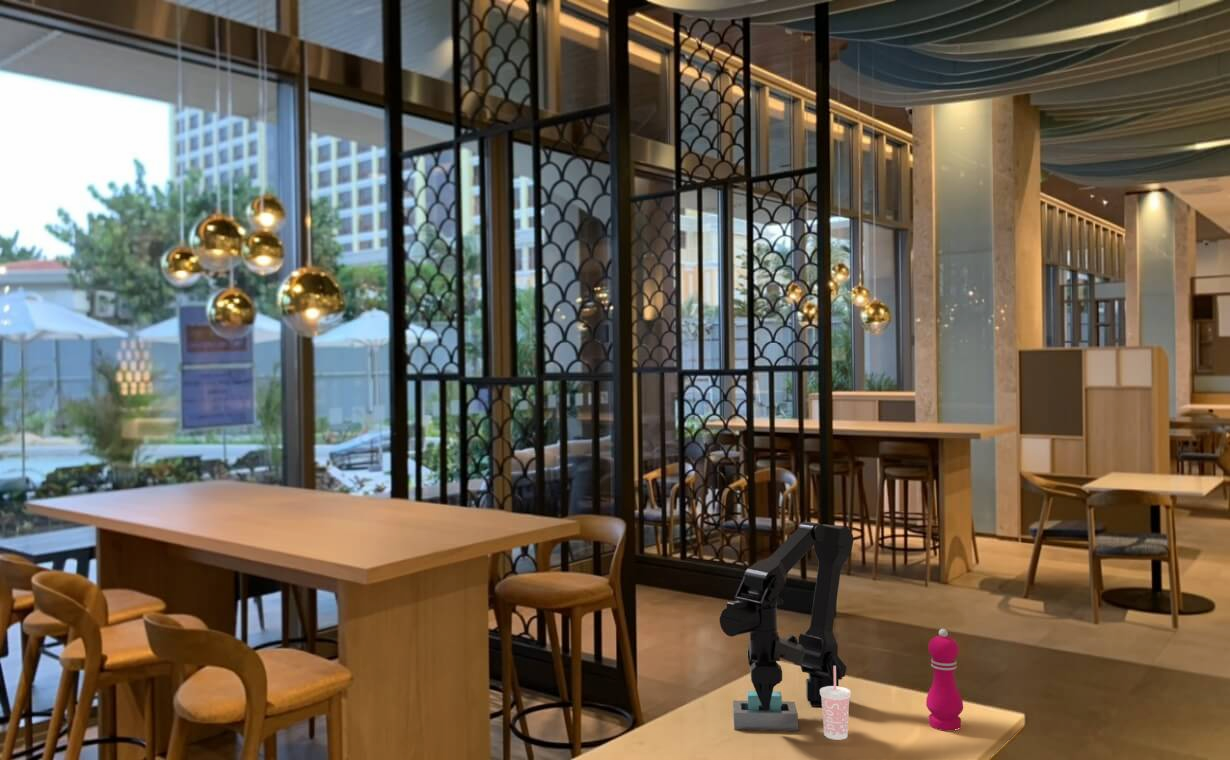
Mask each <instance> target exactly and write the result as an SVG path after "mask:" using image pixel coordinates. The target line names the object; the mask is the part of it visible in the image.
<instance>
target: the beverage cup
mask: <svg viewBox="0 0 1230 760" xmlns="http://www.w3.org/2000/svg"><path fill="white" fill-rule="evenodd" d="M833 667H834V686H827V687H823V688H821V689H820V695H821V699H822V706H821V707H822V708H821V709H822V711H821V712H822V721H823V722H822V724H823V735H824V736H826V737H825V738H827V739H830V740H836V741H837V740H838V741H841V740H846V739H847V738H848V736H849V735H848V731H849V709H850V698H851V690H850V689H849V688H846V687H842V686H839V687H838V686H836V666H833Z"/></svg>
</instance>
